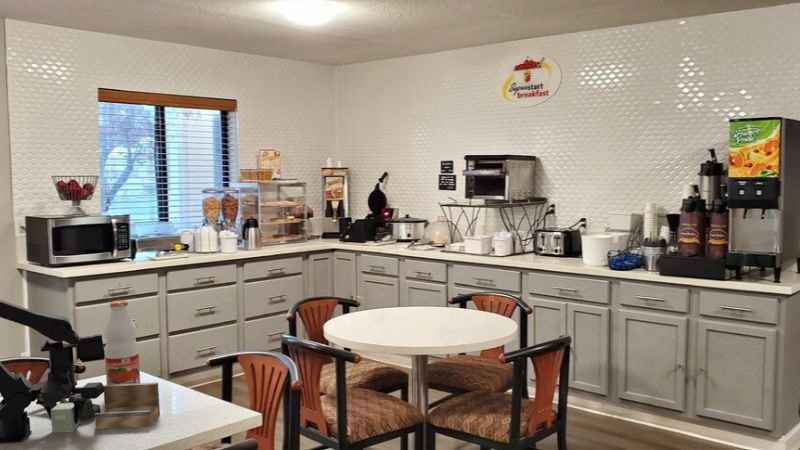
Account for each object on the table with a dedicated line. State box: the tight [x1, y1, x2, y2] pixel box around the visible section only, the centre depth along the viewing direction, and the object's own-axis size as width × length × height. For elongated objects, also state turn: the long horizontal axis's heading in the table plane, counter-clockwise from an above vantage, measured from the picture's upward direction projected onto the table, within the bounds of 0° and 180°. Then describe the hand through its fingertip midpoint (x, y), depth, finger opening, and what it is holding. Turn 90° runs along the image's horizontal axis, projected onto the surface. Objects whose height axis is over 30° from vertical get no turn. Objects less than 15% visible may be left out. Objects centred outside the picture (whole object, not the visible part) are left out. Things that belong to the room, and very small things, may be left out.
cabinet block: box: [50, 403, 81, 434], centre depth 184 cm, size 5×6×6 cm
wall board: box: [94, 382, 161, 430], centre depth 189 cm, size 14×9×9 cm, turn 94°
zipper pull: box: [33, 380, 102, 423], centre depth 199 cm, size 9×7×25 cm
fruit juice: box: [103, 300, 141, 385], centre depth 212 cm, size 9×9×28 cm
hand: (65, 424), depth 185 cm, fingers closed on cabinet block, 5 cm apart
